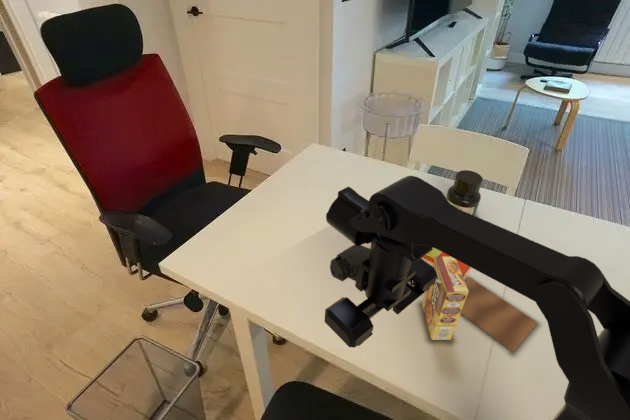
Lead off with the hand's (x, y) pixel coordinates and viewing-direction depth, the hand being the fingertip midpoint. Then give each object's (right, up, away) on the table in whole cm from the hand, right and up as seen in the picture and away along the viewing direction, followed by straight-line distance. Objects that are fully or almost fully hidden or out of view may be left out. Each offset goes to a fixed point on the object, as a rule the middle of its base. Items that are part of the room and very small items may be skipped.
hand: (377, 327), depth 61 cm
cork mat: (+28, -3, +20) cm, 34 cm away
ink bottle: (+31, +18, +47) cm, 59 cm away
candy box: (+15, -5, +18) cm, 24 cm away
